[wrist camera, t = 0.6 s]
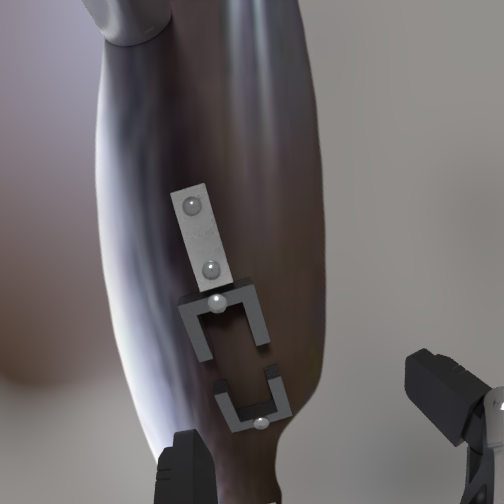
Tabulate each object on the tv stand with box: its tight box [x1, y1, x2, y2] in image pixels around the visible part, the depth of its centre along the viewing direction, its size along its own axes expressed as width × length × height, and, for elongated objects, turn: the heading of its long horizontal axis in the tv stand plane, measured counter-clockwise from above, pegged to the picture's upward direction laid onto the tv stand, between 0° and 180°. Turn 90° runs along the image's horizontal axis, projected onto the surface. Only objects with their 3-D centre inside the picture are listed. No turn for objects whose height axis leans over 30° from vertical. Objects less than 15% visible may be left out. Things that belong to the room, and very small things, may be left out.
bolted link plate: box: [170, 183, 233, 292], centre depth 30 cm, size 10×3×4 cm, turn 16°
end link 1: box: [177, 277, 270, 362], centre depth 32 cm, size 7×8×4 cm
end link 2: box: [214, 364, 292, 433], centre depth 34 cm, size 7×8×4 cm
